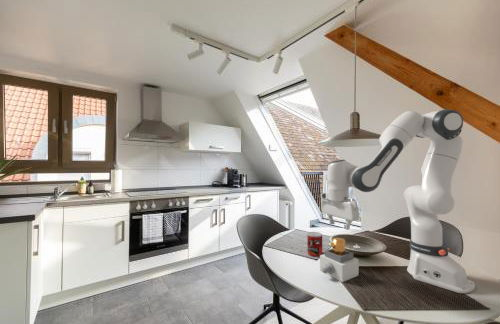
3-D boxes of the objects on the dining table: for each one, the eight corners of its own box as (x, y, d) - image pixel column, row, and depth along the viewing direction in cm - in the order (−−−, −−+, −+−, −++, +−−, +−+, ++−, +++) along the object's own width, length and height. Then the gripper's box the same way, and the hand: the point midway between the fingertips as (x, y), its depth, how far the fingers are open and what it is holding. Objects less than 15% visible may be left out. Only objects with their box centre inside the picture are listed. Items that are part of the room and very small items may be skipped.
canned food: (304, 254, 125) (304, 233, 125) (312, 249, 131) (311, 230, 131) (318, 258, 120) (317, 237, 120) (324, 253, 126) (324, 233, 126)
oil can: (339, 254, 107) (339, 237, 107) (347, 258, 102) (347, 240, 102) (325, 256, 105) (326, 238, 105) (333, 261, 100) (333, 242, 100)
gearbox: (358, 275, 102) (358, 253, 102) (335, 284, 94) (335, 261, 94) (335, 264, 112) (335, 245, 112) (313, 272, 104) (313, 251, 104)
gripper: (362, 198, 95) (363, 231, 95) (328, 192, 114) (329, 220, 114) (350, 199, 93) (351, 233, 93) (318, 193, 112) (319, 222, 112)
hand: (339, 226), depth 104 cm, fingers open, 8 cm apart
